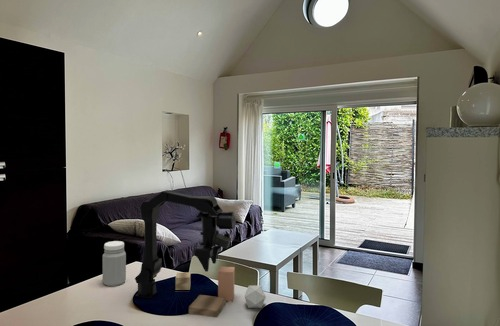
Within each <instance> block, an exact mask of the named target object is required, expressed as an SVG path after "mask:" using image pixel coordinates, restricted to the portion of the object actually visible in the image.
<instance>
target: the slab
mask: <svg viewBox="0 0 500 326" xmlns="http://www.w3.org/2000/svg"><path fill="white" fill-rule="evenodd" d="M226 303H227V301H226V298H222V297H218V296H212V295H205V294H199V295H198V296H197V298H195V299H194V301H192V303H191V304H189V306H188V314H189V315H196V316H203V317H204V316H205V317H211V318H218V317H219V315H220V314H221V312H222V310H223V309H224V308H225V306H226V305H227V304H226Z"/></svg>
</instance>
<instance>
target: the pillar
mask: <svg viewBox="0 0 500 326" xmlns="http://www.w3.org/2000/svg"><path fill="white" fill-rule="evenodd" d="M217 272H218V273H217V274H218V275H217V276H218V278H217V280H218V281H217V297H222V298H226V302H233V301H234V296H235V273H236V270H235V266H220V267H219V269H218V271H217Z"/></svg>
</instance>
